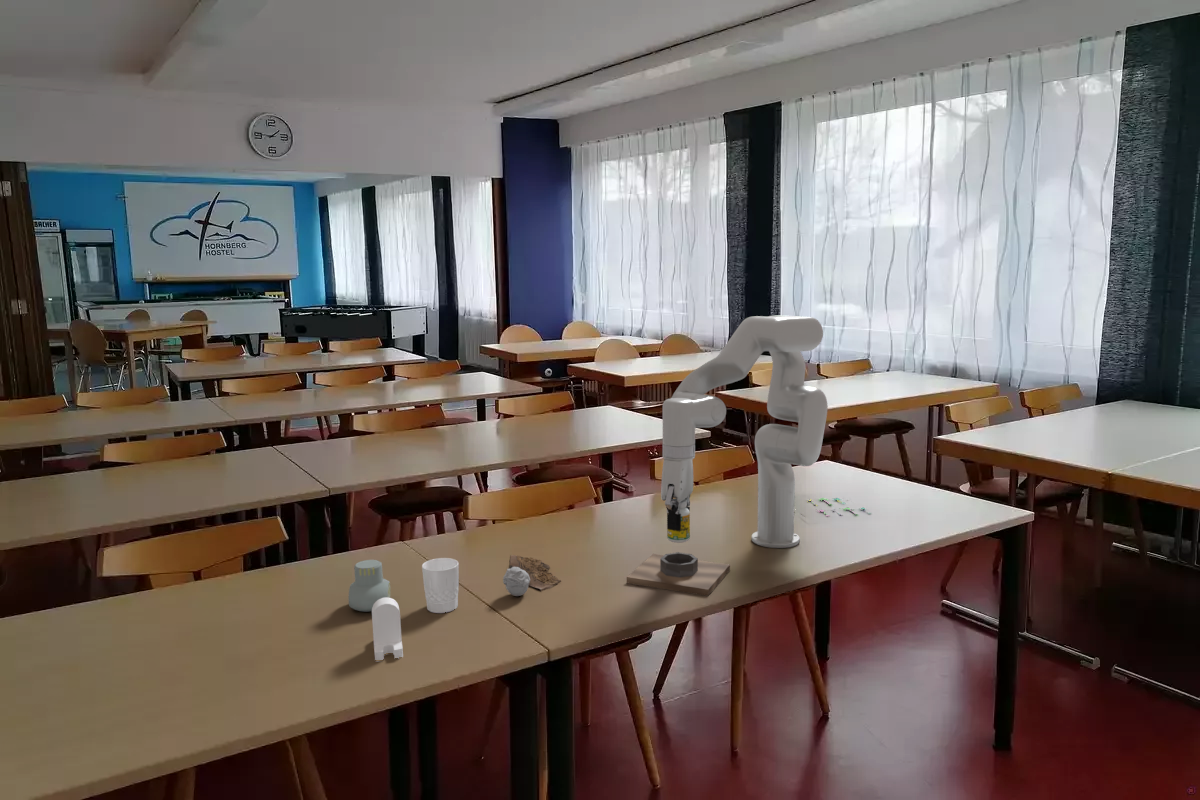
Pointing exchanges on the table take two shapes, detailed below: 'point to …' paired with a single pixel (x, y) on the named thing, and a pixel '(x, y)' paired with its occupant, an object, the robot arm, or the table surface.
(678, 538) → the supplement bottle
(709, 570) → the holder
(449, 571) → the white cup
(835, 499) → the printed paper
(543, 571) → the wooden fragment
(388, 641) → the white phone stand
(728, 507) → the table surface
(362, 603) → the air freshener
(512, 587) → the crumpled paper ball
